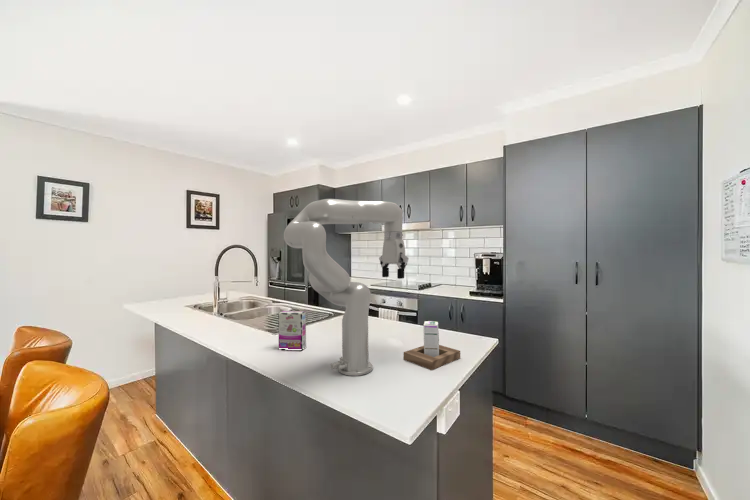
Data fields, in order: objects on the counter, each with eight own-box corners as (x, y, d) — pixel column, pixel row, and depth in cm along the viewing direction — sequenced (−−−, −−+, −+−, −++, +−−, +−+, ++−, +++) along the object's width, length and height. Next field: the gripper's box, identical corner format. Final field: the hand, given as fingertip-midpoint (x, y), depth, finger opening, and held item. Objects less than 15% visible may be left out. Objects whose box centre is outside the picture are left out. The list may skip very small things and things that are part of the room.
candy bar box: (306, 347, 133) (306, 311, 133) (302, 351, 128) (301, 313, 128) (283, 346, 135) (283, 310, 135) (277, 350, 130) (277, 312, 130)
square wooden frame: (431, 370, 107) (431, 361, 107) (403, 359, 118) (403, 352, 118) (460, 358, 119) (460, 350, 119) (432, 349, 129) (432, 342, 129)
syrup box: (439, 362, 115) (438, 324, 115) (423, 361, 116) (423, 323, 116) (439, 357, 120) (438, 321, 120) (424, 356, 122) (424, 320, 122)
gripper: (414, 236, 120) (414, 278, 119) (386, 238, 133) (386, 276, 133) (400, 235, 115) (400, 279, 115) (373, 237, 129) (373, 276, 129)
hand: (392, 277), depth 124 cm, fingers open, 9 cm apart
